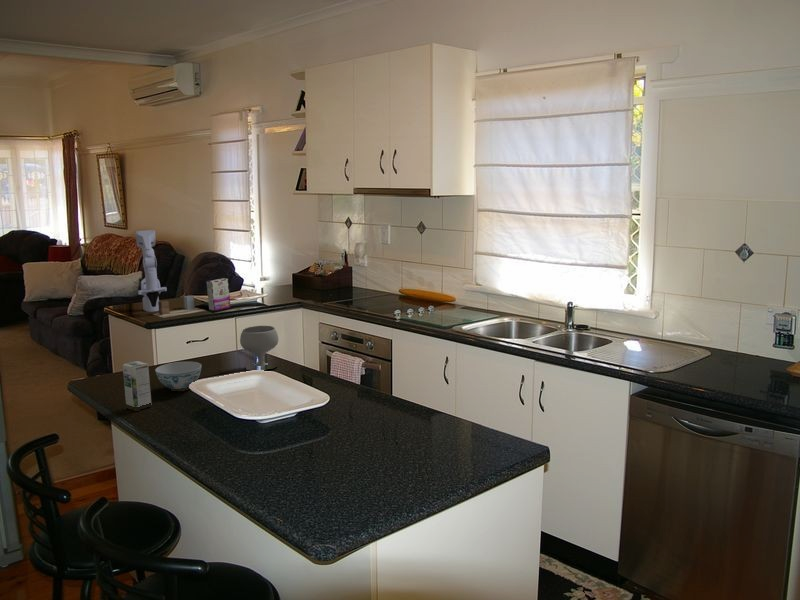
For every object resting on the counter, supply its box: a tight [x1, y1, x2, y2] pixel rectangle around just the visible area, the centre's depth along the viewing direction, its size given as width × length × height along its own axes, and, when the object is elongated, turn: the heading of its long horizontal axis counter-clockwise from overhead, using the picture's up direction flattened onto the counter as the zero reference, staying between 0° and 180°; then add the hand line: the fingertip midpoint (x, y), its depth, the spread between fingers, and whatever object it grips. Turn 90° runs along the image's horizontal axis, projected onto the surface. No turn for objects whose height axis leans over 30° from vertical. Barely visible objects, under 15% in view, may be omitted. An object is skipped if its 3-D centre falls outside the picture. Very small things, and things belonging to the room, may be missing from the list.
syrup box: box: [122, 360, 152, 407], centre depth 219 cm, size 6×6×14 cm
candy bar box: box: [206, 277, 231, 311], centre depth 378 cm, size 11×5×16 cm, turn 143°
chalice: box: [239, 325, 279, 366], centre depth 261 cm, size 14×14×15 cm
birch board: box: [152, 307, 207, 319], centre depth 371 cm, size 14×24×1 cm, turn 133°
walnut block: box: [158, 300, 171, 316], centre depth 366 cm, size 4×4×7 cm
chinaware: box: [154, 361, 202, 389], centre depth 238 cm, size 15×15×8 cm
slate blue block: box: [182, 295, 196, 310], centre depth 379 cm, size 4×4×7 cm
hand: (153, 306), depth 362 cm, fingers closed
